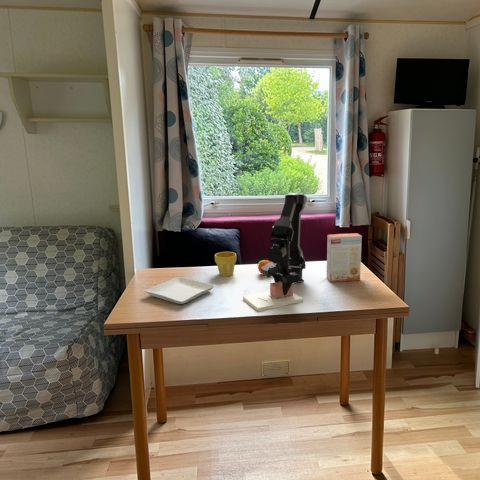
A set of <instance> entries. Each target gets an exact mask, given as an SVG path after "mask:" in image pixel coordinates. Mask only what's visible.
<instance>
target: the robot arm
mask: <svg viewBox="0 0 480 480" xmlns="http://www.w3.org/2000/svg"><path fill="white" fill-rule="evenodd" d="M306 204H307V196H306V195H305V193H304V192H289V193H286V194H285V195H284V204H283V207H282V210H281V213H280V216H279V218H278V219H276V220H275V222H274V224H273V226H272V228H271V231H270V237H269V242H268V243H269V244H272V247H271V248H270V249H269V250H268V252H267V258H268V259H267V260H268V261H270V263H268V264H266V265H264V266H262V267H261V270H262V272H263V274H262V275H263V276H265V277H267V278H273V281H274V283H275V282H280V281H281V282H282V286H283V294H284V295H286V294H287V292H288V290H289V289H290V287H291V285H292V283H293V284H296V283H301V282H302V283H303V282H305V280H304V279H303V271H304V270H305V269H306V260H305V257H304V254H303V250H302V248H301V247H300V239H301V222H302V220H301V219H302V217H301V216H302V213H303V211H304V210H305V208H306Z"/></svg>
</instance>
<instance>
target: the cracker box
mask: <svg viewBox="0 0 480 480" xmlns="http://www.w3.org/2000/svg"><path fill="white" fill-rule="evenodd" d="M326 237H327V243H326V244H327V245H326V250H327V251H326V279H327V280H328V281H329V283H335V282H336V283H337V282H338V283H339V282H340V283H341V282H355V281H356V282H357V281H360V280H361V269H362V268H361V267H362V264H361V263H362V239H363V235H361V234H359V233H358V232H357V233H355V232H354V233H335V234H327V236H326Z"/></svg>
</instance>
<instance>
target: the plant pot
mask: <svg viewBox="0 0 480 480" xmlns="http://www.w3.org/2000/svg"><path fill="white" fill-rule="evenodd" d="M237 259H238V257H237V253H236V252H233V251H221V252H217V253H215V254H214V262H215V263H216V265H217V270H218V273H219V275H220V276H222V277H229V276H233V275H234V273H235V271H234V270H235V264H236V262H237Z"/></svg>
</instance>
